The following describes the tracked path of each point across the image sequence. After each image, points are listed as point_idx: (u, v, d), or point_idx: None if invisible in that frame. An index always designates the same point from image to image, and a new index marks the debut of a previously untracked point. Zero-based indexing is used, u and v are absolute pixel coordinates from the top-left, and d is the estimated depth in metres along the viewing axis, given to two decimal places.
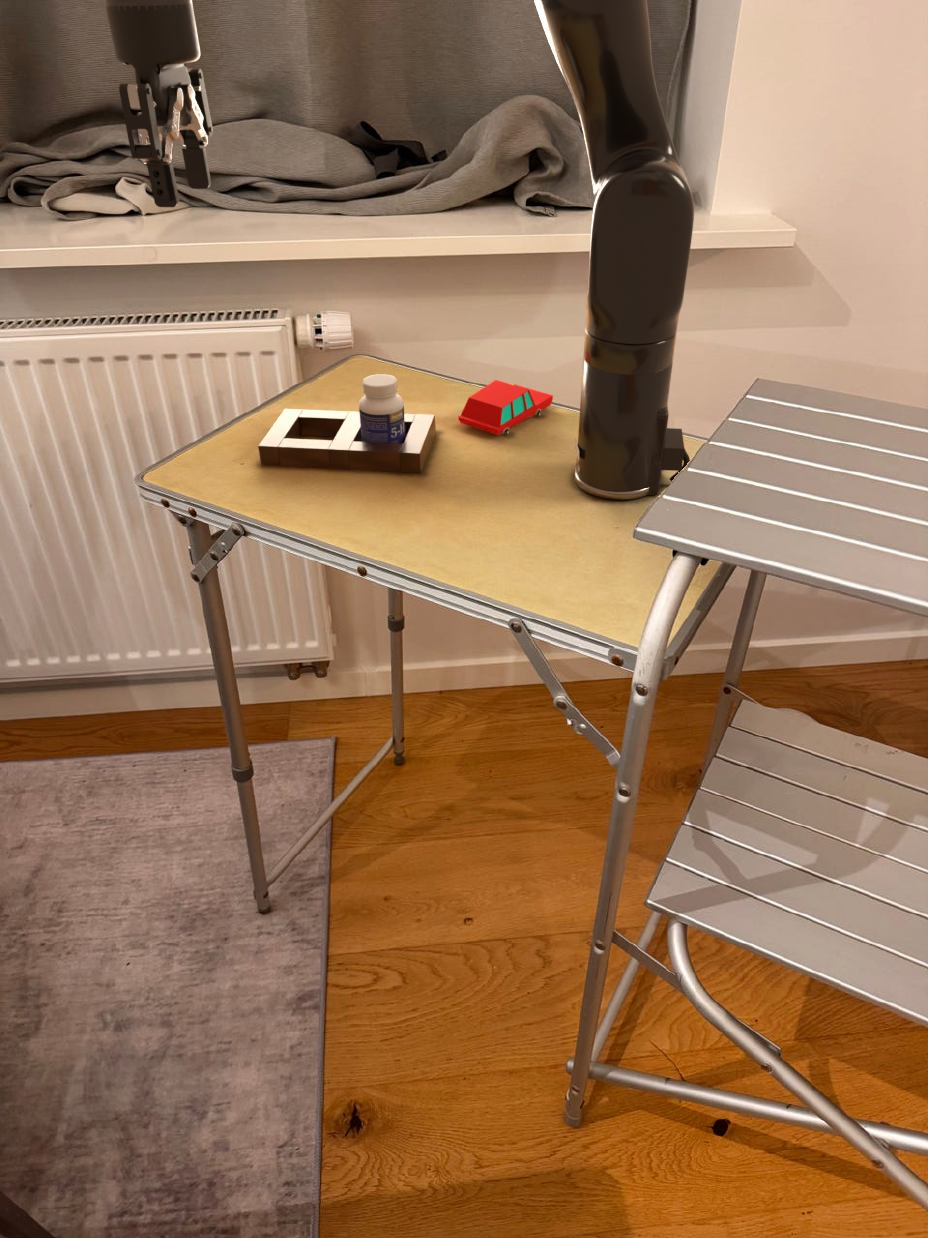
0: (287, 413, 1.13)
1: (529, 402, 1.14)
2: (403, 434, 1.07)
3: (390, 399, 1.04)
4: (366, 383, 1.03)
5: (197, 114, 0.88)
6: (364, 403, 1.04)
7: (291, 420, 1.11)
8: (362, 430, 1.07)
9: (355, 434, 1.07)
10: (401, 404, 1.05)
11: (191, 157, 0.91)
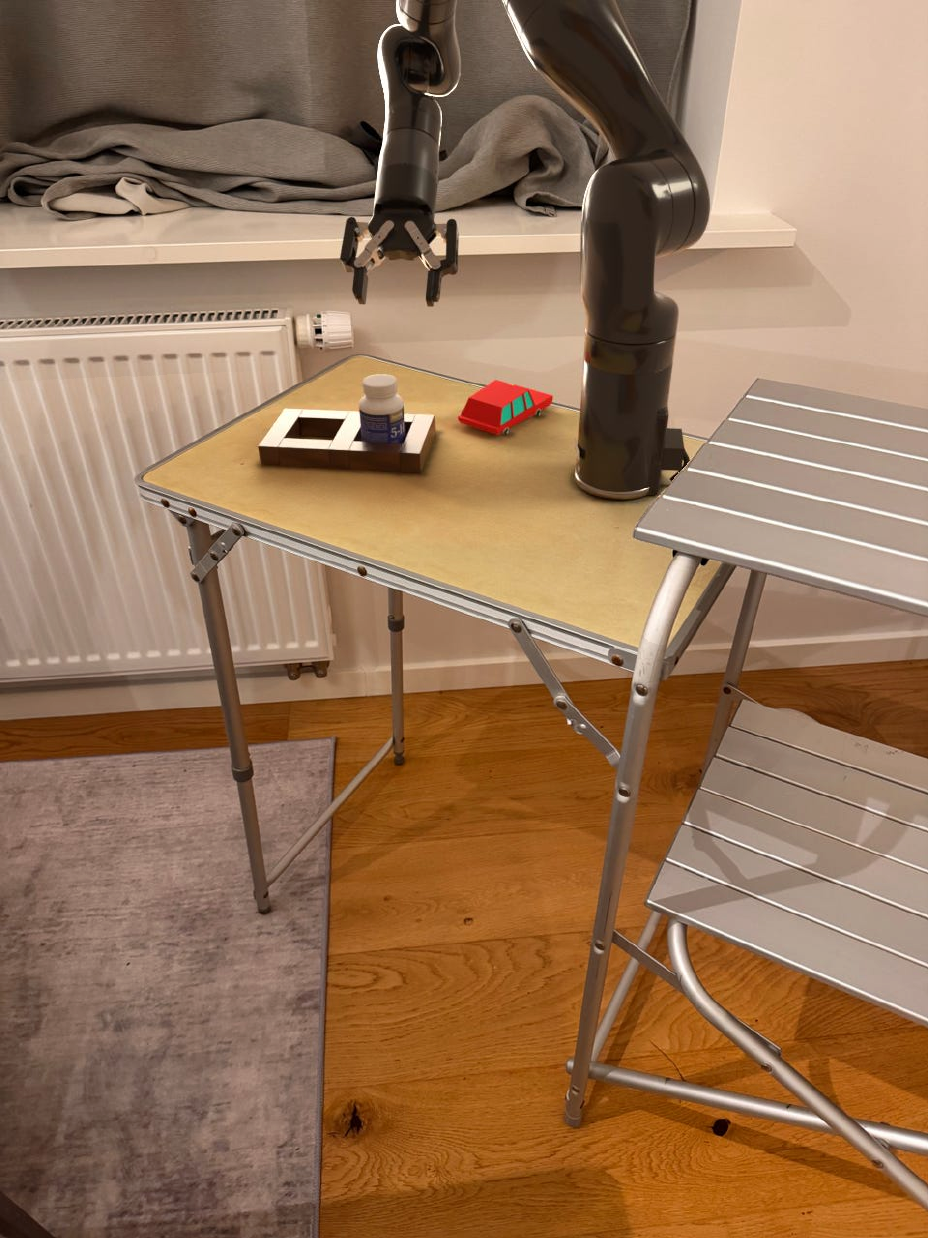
0: (287, 413, 1.13)
1: (528, 402, 1.14)
2: (403, 434, 1.07)
3: (390, 399, 1.04)
4: (365, 383, 1.03)
5: (419, 242, 1.09)
6: (364, 403, 1.04)
7: (291, 420, 1.11)
8: (362, 430, 1.07)
9: (355, 434, 1.07)
10: (401, 404, 1.05)
11: None
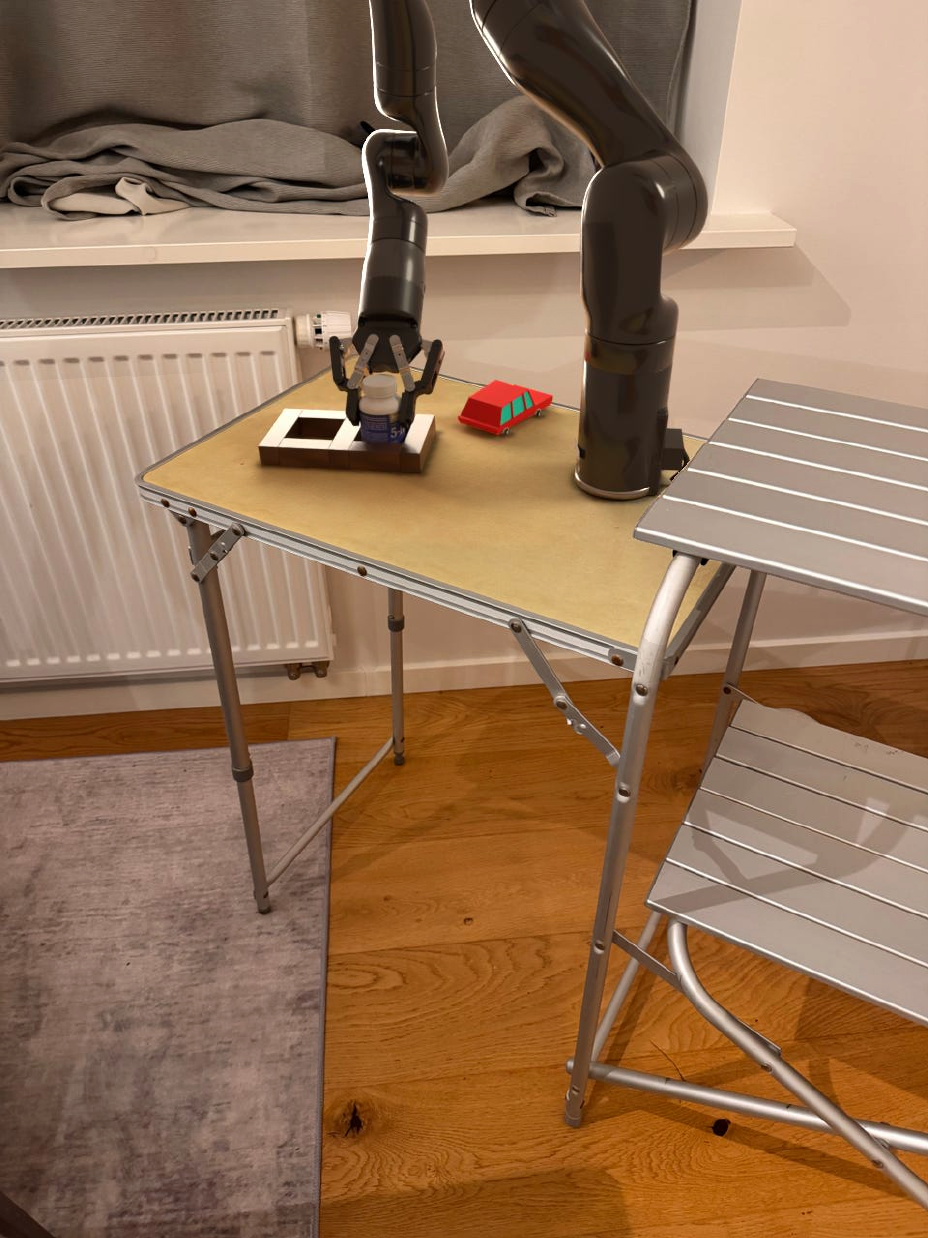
0: (287, 413, 1.13)
1: (528, 402, 1.14)
2: (403, 434, 1.07)
3: (390, 399, 1.04)
4: (365, 383, 1.03)
5: (399, 360, 1.05)
6: (364, 403, 1.04)
7: (291, 420, 1.11)
8: (362, 430, 1.07)
9: (355, 434, 1.07)
10: None
11: None
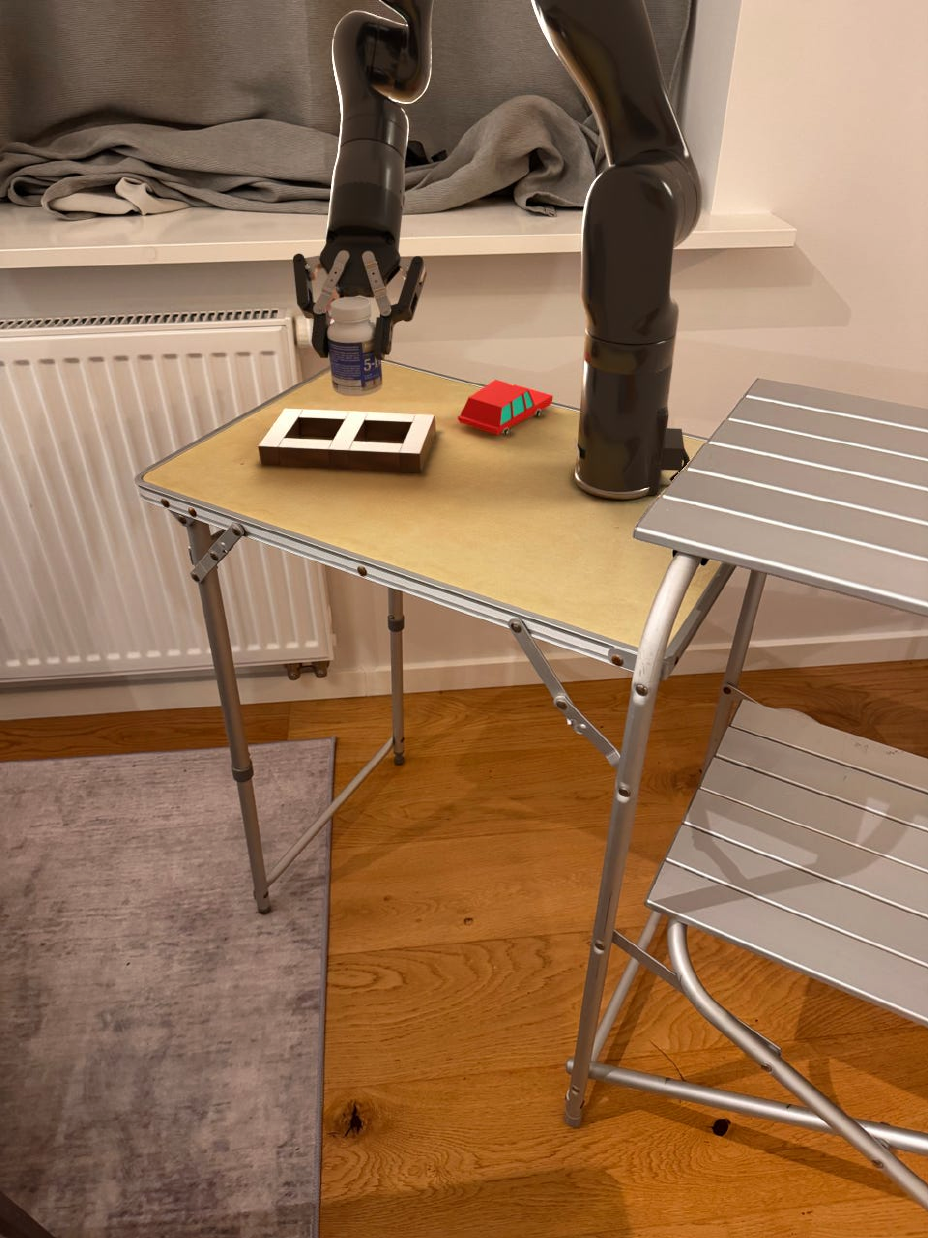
0: (287, 413, 1.13)
1: (528, 402, 1.15)
2: (379, 367, 0.93)
3: (362, 325, 0.90)
4: (334, 306, 0.89)
5: (373, 279, 0.90)
6: (332, 329, 0.90)
7: (291, 420, 1.11)
8: (331, 362, 0.92)
9: (355, 434, 1.07)
10: None
11: None
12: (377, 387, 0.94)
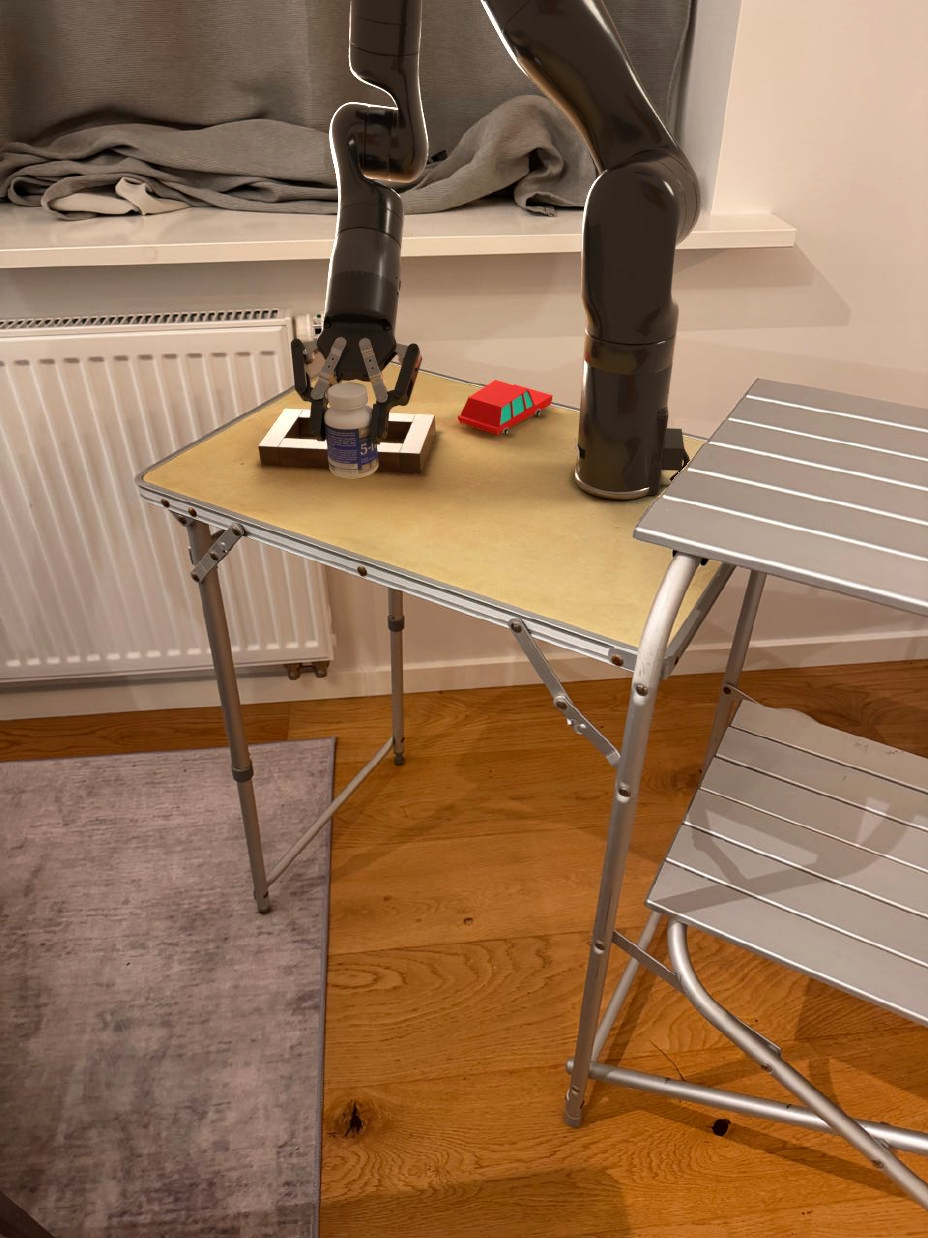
0: (287, 413, 1.13)
1: (528, 402, 1.15)
2: (375, 450, 0.95)
3: (359, 411, 0.92)
4: (331, 393, 0.91)
5: (369, 366, 0.92)
6: (329, 415, 0.92)
7: (291, 420, 1.11)
8: (328, 446, 0.94)
9: None
10: None
11: None
12: (373, 469, 0.95)
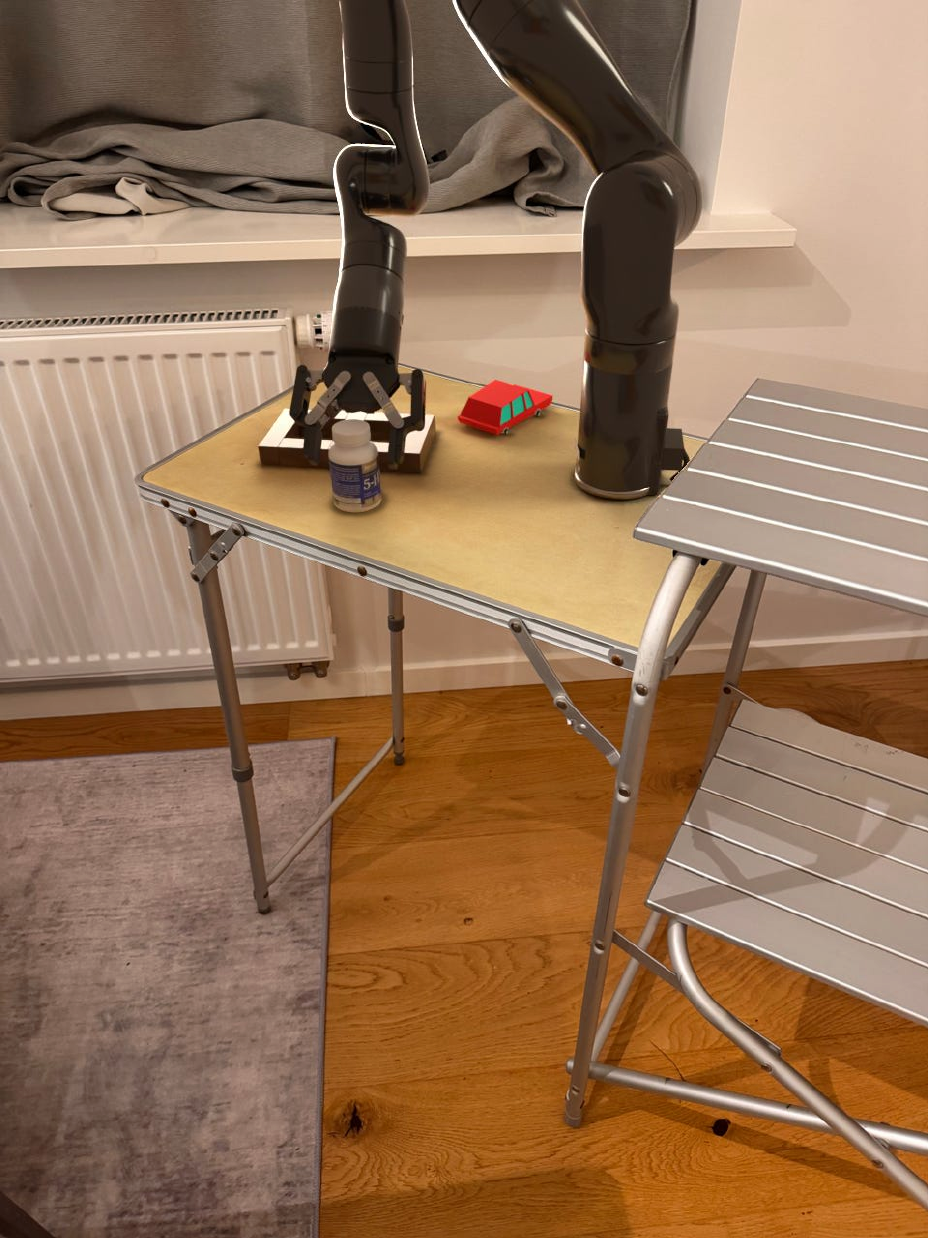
0: (287, 413, 1.13)
1: (528, 402, 1.15)
2: (378, 485, 0.97)
3: (362, 448, 0.94)
4: (335, 431, 0.93)
5: (379, 397, 0.94)
6: (333, 452, 0.94)
7: (291, 420, 1.11)
8: (332, 481, 0.96)
9: None
10: (375, 453, 0.95)
11: None
12: (376, 503, 0.98)
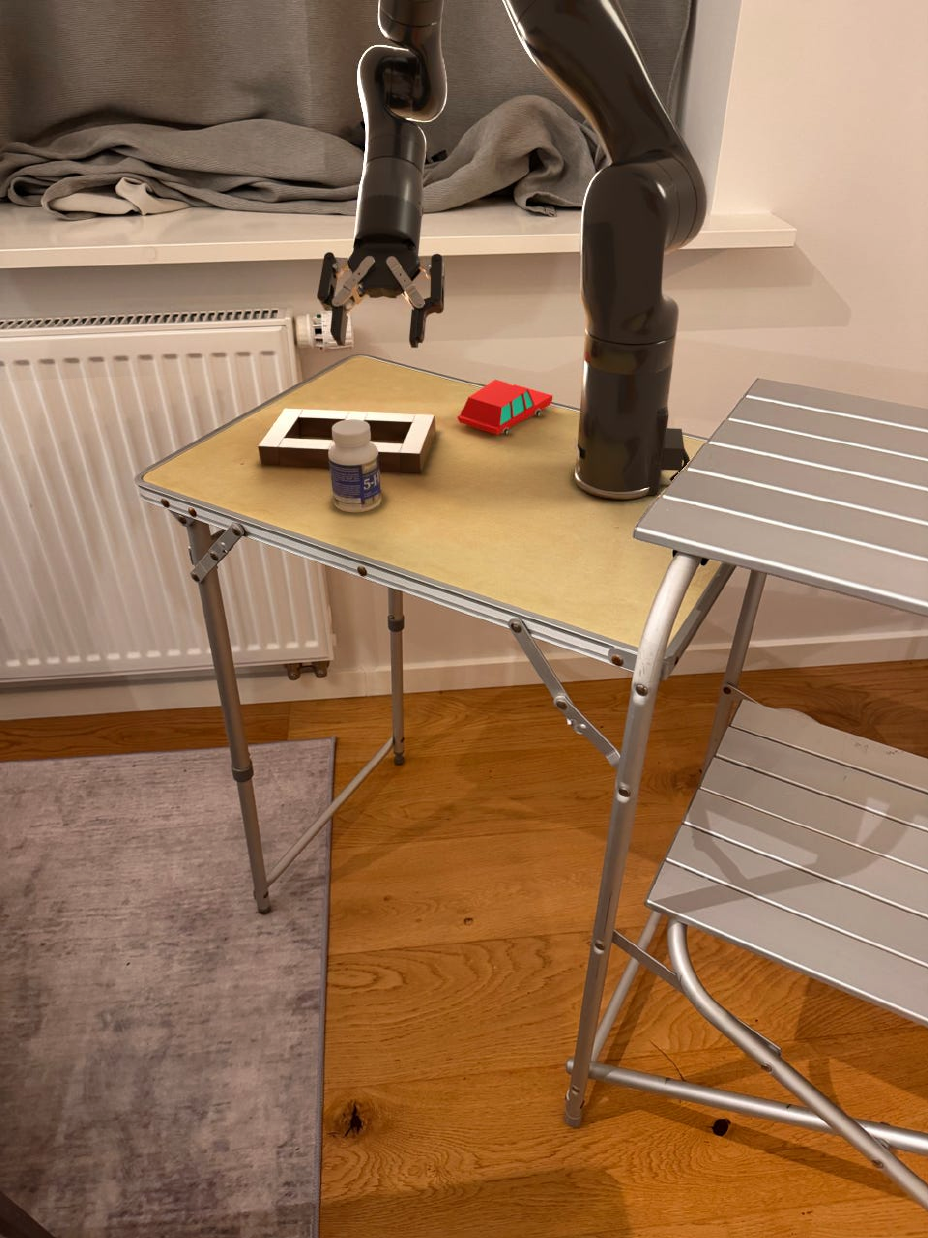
0: (287, 413, 1.13)
1: (528, 402, 1.15)
2: (378, 485, 0.97)
3: (362, 448, 0.94)
4: (335, 431, 0.93)
5: (401, 279, 1.01)
6: (333, 452, 0.94)
7: (291, 420, 1.11)
8: (332, 481, 0.96)
9: None
10: (375, 453, 0.95)
11: None
12: (376, 503, 0.98)
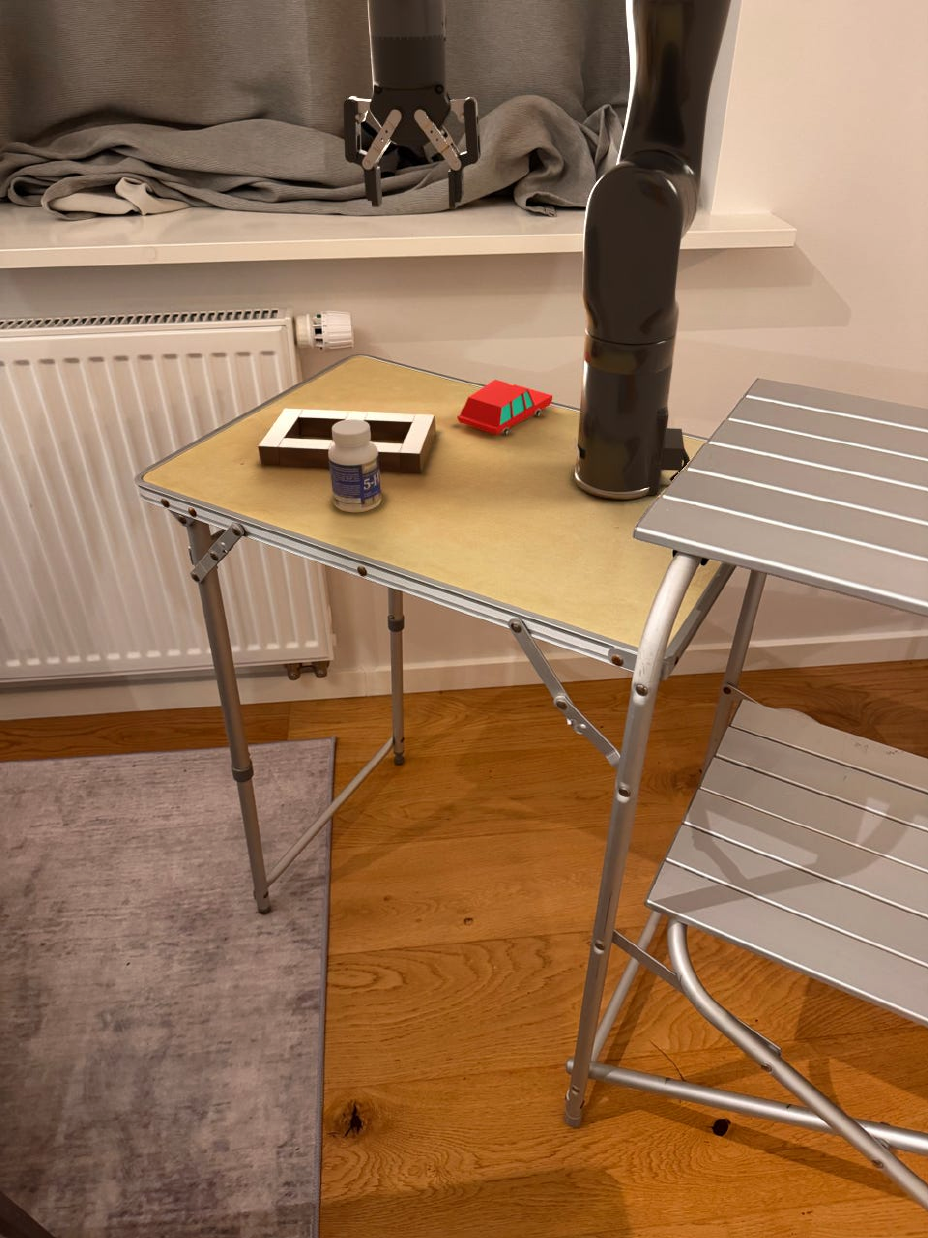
0: (287, 413, 1.13)
1: (528, 402, 1.15)
2: (378, 485, 0.97)
3: (362, 448, 0.94)
4: (335, 431, 0.93)
5: (434, 138, 0.93)
6: (333, 452, 0.94)
7: (291, 420, 1.11)
8: (332, 481, 0.96)
9: None
10: (375, 453, 0.95)
11: None
12: (376, 503, 0.98)
